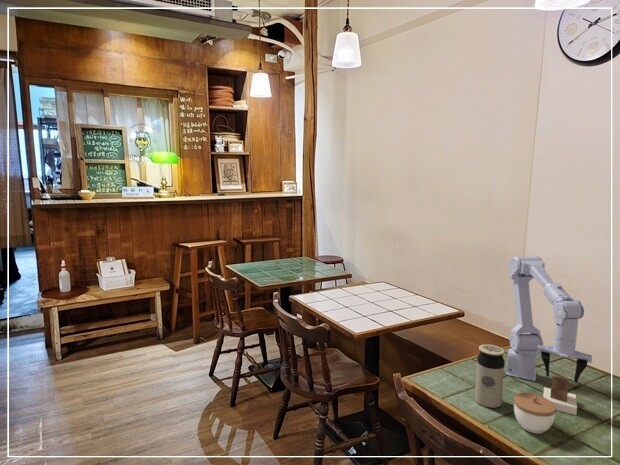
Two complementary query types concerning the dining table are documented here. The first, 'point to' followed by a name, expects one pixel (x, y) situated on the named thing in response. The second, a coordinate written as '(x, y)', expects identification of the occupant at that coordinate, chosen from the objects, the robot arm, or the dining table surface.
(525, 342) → the robot arm
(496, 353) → the travel mug
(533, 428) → the lidded jar
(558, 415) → the dining table surface
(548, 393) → the cream tile block
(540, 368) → the dining table surface
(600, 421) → the dining table surface
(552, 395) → the walnut block
